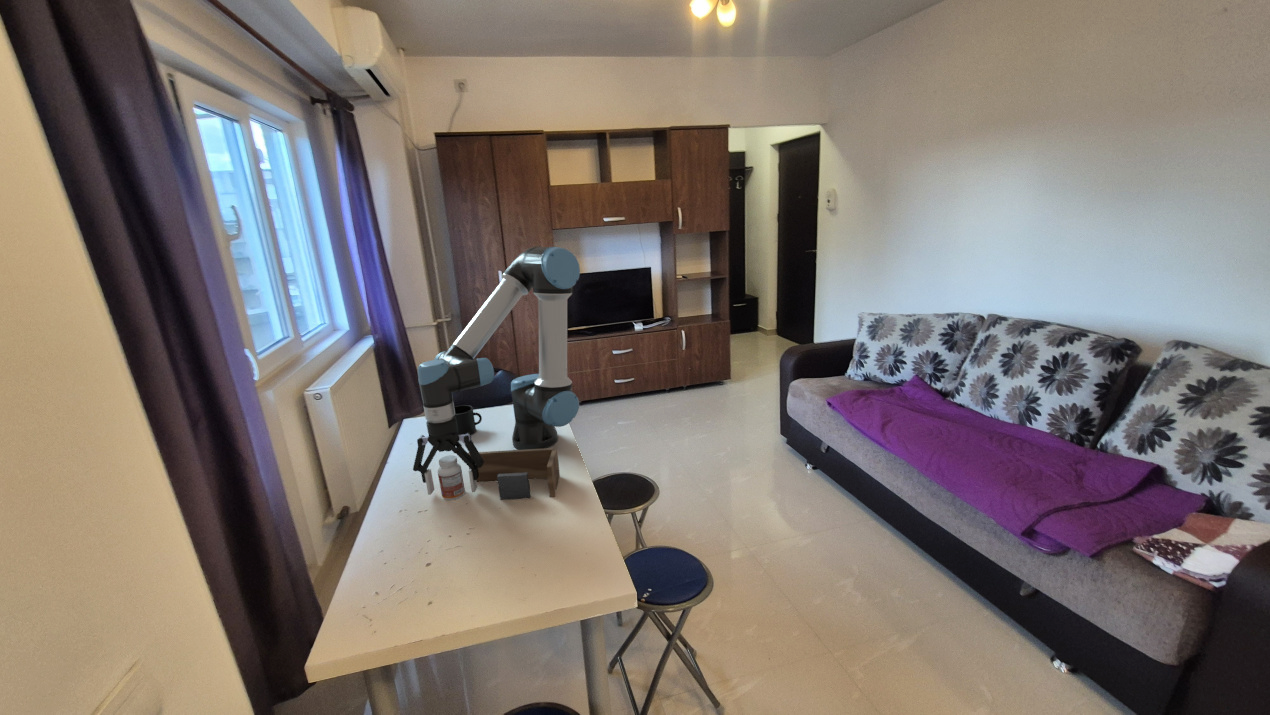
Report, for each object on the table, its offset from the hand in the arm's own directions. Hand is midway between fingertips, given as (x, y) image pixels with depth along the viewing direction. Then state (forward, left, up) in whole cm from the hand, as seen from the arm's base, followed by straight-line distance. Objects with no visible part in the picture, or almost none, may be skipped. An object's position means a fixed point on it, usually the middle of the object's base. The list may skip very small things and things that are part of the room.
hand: (453, 491), depth 145 cm
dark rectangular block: (+3, +18, -1) cm, 18 cm away
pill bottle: (0, 0, -1) cm, 1 cm away
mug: (-44, -10, -1) cm, 45 cm away
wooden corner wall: (-2, +16, -1) cm, 16 cm away
